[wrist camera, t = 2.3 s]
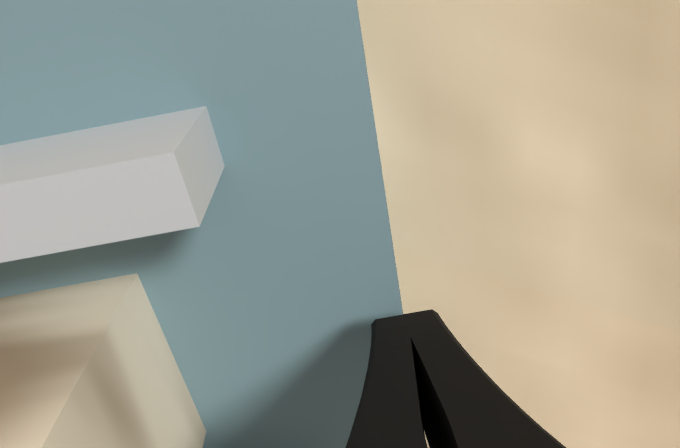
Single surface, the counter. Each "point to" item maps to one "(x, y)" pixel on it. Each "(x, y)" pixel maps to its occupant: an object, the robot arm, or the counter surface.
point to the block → (91, 371)
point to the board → (207, 193)
